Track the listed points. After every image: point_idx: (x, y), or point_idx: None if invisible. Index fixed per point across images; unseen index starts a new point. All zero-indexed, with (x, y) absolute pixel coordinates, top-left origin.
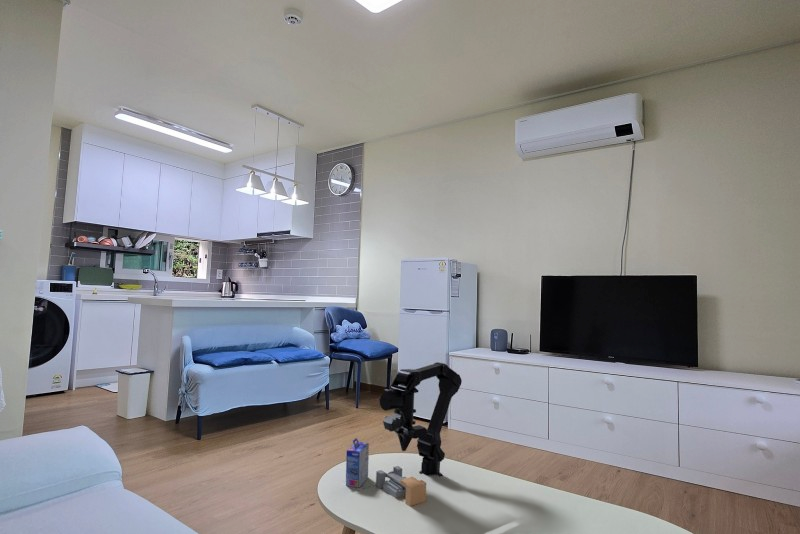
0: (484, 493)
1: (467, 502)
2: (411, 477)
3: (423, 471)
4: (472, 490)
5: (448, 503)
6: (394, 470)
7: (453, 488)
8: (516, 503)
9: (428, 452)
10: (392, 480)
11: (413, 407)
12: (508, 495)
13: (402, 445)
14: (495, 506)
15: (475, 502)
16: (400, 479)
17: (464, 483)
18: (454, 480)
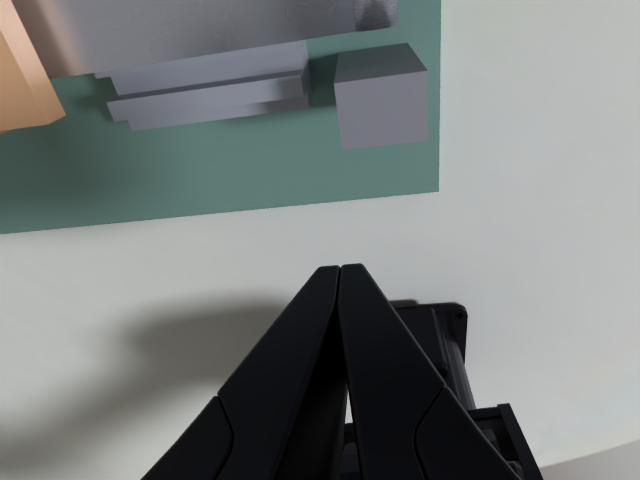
0: (131, 412)
1: (48, 321)
2: (23, 100)
3: (410, 323)
4: (168, 394)
5: (39, 242)
6: (399, 67)
7: (208, 347)
8: (35, 443)
9: (350, 467)
10: (428, 50)
11: None
12: (102, 456)
13: (310, 329)
14: (8, 384)
15: (47, 347)
16: (137, 4)
17: None
18: None
